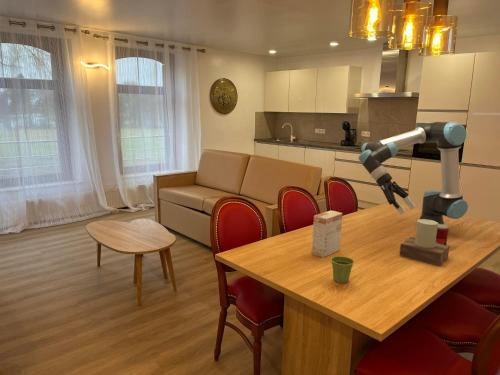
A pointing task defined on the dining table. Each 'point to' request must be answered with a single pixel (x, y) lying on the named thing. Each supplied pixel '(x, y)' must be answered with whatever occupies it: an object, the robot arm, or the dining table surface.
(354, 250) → the dining table surface
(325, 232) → the coffeecake box
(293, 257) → the dining table surface
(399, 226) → the dining table surface
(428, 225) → the can
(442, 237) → the canned food
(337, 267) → the plant pot
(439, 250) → the walnut riser
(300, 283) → the dining table surface
